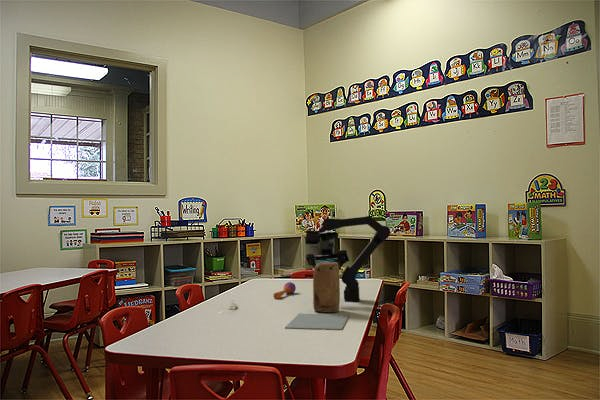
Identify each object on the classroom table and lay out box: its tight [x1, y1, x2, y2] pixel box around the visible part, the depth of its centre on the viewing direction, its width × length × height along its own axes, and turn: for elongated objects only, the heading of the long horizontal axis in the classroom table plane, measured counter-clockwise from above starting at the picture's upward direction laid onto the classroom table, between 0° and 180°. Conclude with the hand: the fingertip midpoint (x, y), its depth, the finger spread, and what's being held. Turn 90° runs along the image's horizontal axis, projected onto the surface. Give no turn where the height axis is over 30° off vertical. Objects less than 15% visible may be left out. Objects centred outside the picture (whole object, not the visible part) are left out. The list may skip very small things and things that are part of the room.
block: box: [312, 261, 341, 314], centre depth 200 cm, size 11×8×20 cm
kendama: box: [273, 281, 297, 300], centre depth 242 cm, size 6×6×20 cm
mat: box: [284, 313, 350, 331], centre depth 181 cm, size 20×24×1 cm
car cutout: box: [219, 298, 239, 314], centre depth 207 cm, size 15×7×4 cm, turn 171°
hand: (327, 273), depth 213 cm, fingers open, 9 cm apart
